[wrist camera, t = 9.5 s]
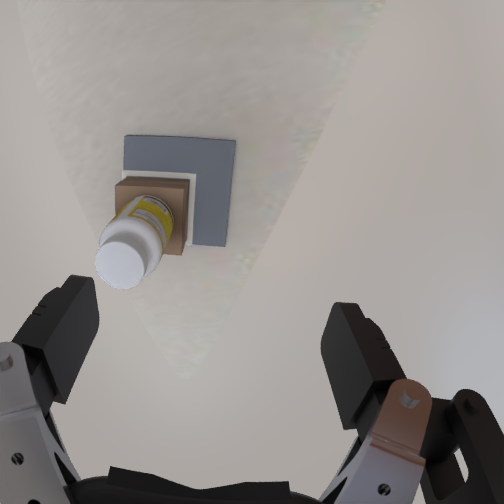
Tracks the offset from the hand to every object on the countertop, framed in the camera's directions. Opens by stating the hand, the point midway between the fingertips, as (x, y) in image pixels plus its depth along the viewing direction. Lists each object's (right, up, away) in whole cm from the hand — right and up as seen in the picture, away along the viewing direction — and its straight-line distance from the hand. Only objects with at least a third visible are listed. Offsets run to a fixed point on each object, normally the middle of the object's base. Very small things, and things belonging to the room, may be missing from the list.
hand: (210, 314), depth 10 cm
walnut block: (-9, +7, +24) cm, 27 cm away
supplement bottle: (-9, +5, +21) cm, 23 cm away
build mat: (-7, +9, +25) cm, 27 cm away
